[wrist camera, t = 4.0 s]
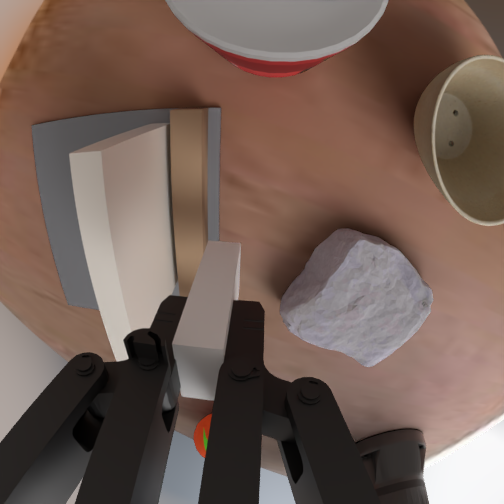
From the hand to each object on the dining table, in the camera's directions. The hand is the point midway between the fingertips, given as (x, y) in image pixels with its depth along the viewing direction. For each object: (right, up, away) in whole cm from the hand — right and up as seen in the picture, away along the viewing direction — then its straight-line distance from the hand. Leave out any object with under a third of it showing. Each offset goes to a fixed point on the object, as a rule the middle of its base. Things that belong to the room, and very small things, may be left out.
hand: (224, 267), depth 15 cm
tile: (-5, +4, +7) cm, 10 cm away
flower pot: (+15, +10, +4) cm, 19 cm away
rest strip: (-3, +4, +7) cm, 9 cm away
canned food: (+3, +15, +1) cm, 16 cm away
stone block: (+11, -2, +11) cm, 15 cm away
